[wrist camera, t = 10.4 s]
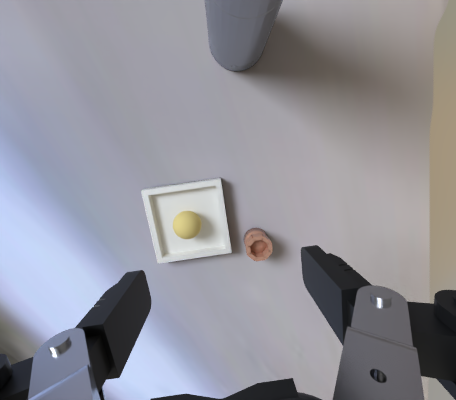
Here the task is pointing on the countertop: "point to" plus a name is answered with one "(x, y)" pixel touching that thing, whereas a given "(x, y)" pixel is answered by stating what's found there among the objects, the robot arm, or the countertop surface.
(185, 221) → the ball
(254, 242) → the cup
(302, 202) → the countertop surface
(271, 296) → the countertop surface
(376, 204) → the countertop surface
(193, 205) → the tray
